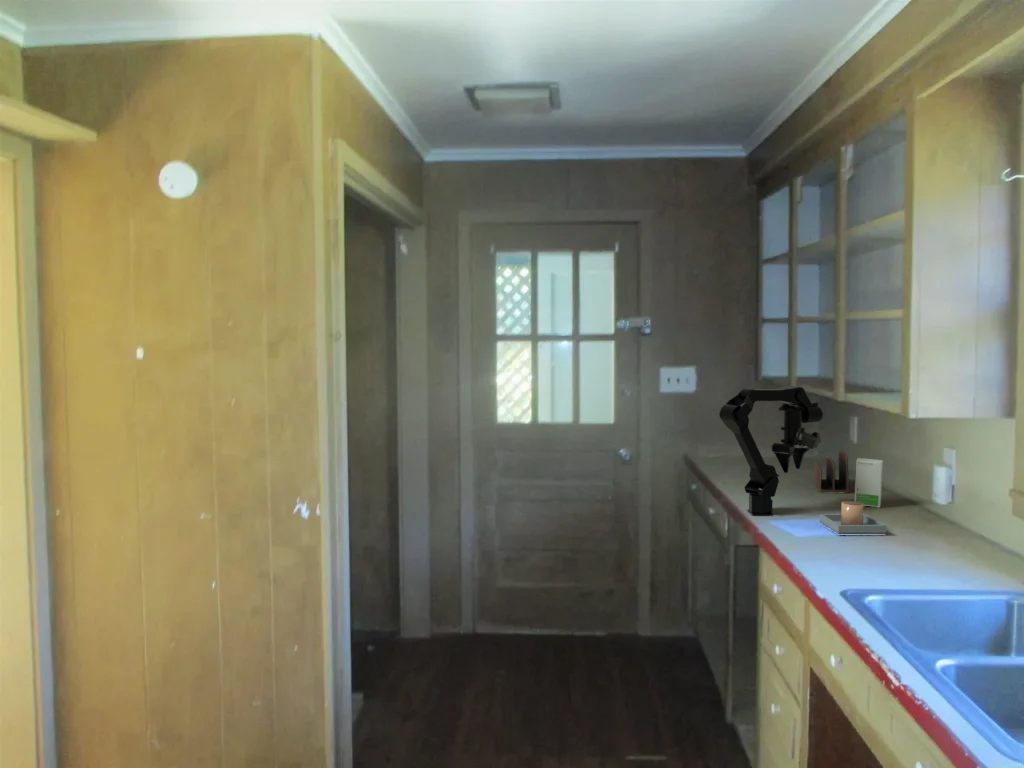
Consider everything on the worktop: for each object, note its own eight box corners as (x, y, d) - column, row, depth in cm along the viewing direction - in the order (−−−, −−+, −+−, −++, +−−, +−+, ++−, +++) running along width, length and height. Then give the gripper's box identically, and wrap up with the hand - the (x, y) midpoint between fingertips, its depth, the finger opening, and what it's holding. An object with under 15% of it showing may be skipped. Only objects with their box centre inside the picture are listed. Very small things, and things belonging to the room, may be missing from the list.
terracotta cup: (846, 529, 232) (846, 505, 231) (837, 523, 238) (838, 500, 237) (866, 528, 232) (867, 505, 231) (857, 523, 238) (858, 500, 237)
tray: (838, 536, 228) (838, 526, 228) (819, 523, 242) (819, 514, 242) (886, 535, 228) (886, 525, 228) (864, 523, 242) (864, 513, 242)
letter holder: (840, 483, 303) (841, 447, 302) (848, 494, 284) (849, 455, 283) (813, 482, 306) (813, 446, 305) (819, 492, 287) (820, 454, 285)
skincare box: (853, 506, 265) (854, 460, 264) (855, 501, 271) (856, 457, 270) (881, 508, 261) (882, 462, 260) (882, 504, 267) (883, 459, 266)
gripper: (804, 429, 247) (803, 478, 248) (828, 423, 260) (827, 469, 262) (771, 426, 255) (770, 473, 256) (795, 420, 268) (795, 465, 269)
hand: (791, 470), depth 260 cm, fingers open, 9 cm apart
